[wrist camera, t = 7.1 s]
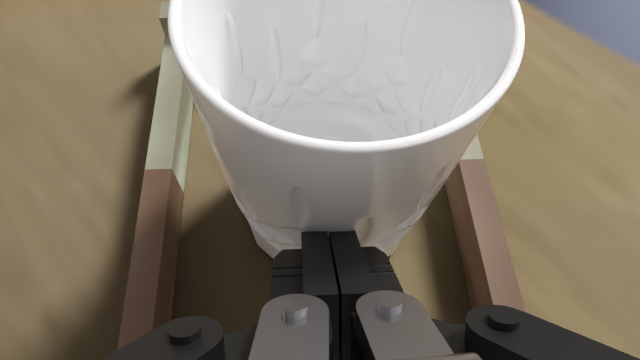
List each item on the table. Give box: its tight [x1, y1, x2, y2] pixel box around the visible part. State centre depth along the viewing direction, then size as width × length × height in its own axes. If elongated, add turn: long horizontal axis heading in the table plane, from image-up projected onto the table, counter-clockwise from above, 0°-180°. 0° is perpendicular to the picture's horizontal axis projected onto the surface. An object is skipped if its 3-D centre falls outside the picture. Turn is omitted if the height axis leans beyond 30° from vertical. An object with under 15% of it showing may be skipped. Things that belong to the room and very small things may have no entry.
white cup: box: [168, 0, 525, 259], centre depth 14 cm, size 8×8×10 cm
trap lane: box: [117, 2, 525, 350], centre depth 16 cm, size 13×24×3 cm, turn 3°
